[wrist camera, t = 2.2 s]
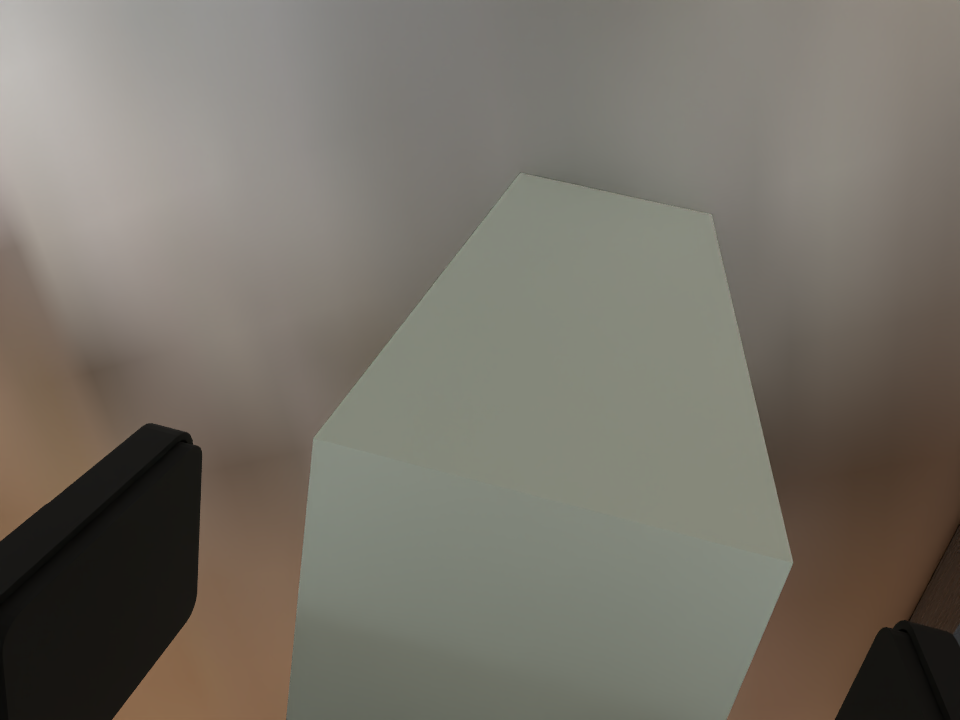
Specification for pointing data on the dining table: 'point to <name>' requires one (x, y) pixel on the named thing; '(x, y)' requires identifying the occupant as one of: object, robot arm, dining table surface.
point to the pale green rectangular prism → (546, 484)
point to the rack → (943, 594)
